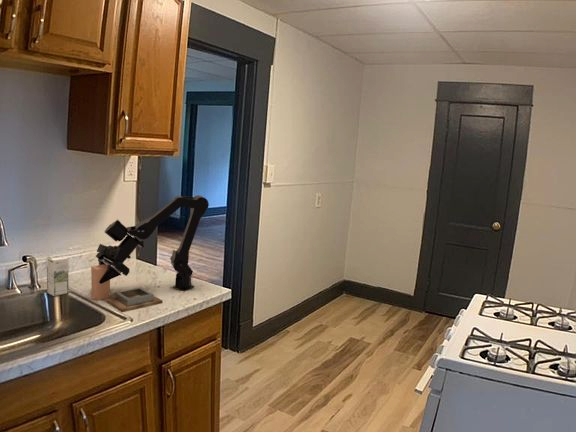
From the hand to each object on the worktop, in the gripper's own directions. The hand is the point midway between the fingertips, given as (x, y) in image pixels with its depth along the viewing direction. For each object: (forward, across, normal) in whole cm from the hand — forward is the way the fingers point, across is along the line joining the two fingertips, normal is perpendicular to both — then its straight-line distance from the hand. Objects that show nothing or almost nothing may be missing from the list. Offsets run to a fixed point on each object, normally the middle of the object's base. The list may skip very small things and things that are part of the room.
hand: (97, 281), depth 175 cm
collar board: (-2, +12, +11) cm, 16 cm away
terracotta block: (+4, 0, +6) cm, 7 cm away
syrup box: (+12, -13, -2) cm, 18 cm away
